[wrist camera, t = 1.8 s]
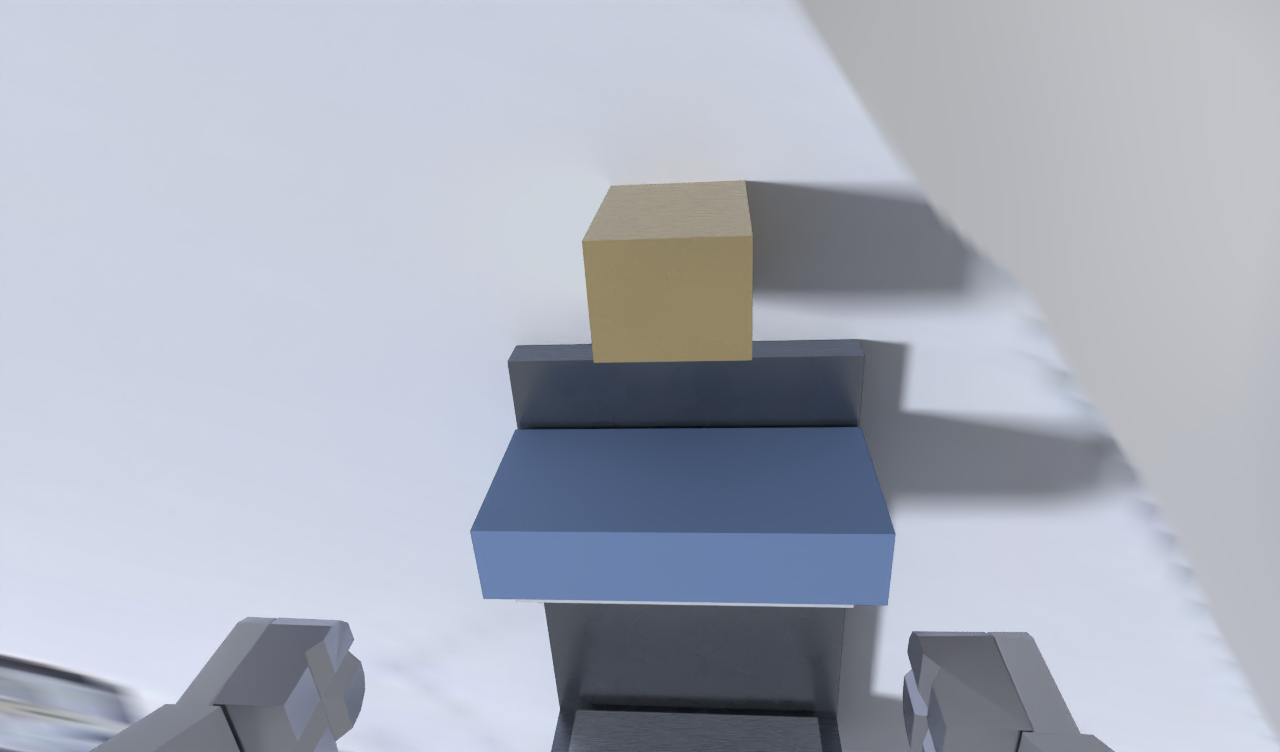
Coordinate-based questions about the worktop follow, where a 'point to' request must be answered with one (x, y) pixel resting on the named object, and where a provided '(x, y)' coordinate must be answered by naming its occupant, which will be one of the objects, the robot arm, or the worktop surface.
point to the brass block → (671, 273)
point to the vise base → (693, 634)
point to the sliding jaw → (686, 518)
